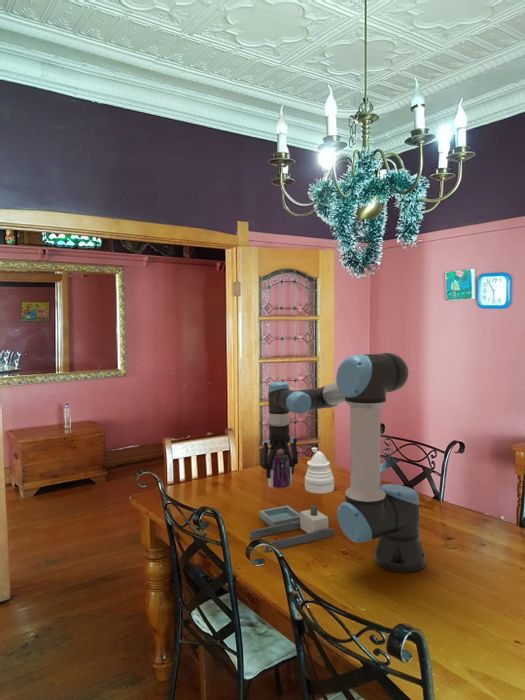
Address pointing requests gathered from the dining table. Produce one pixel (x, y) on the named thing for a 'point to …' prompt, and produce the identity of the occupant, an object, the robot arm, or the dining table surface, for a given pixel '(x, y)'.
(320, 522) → the slider
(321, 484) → the honey pot
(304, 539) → the slide track
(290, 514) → the tray
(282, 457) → the beverage can
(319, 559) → the dining table surface
